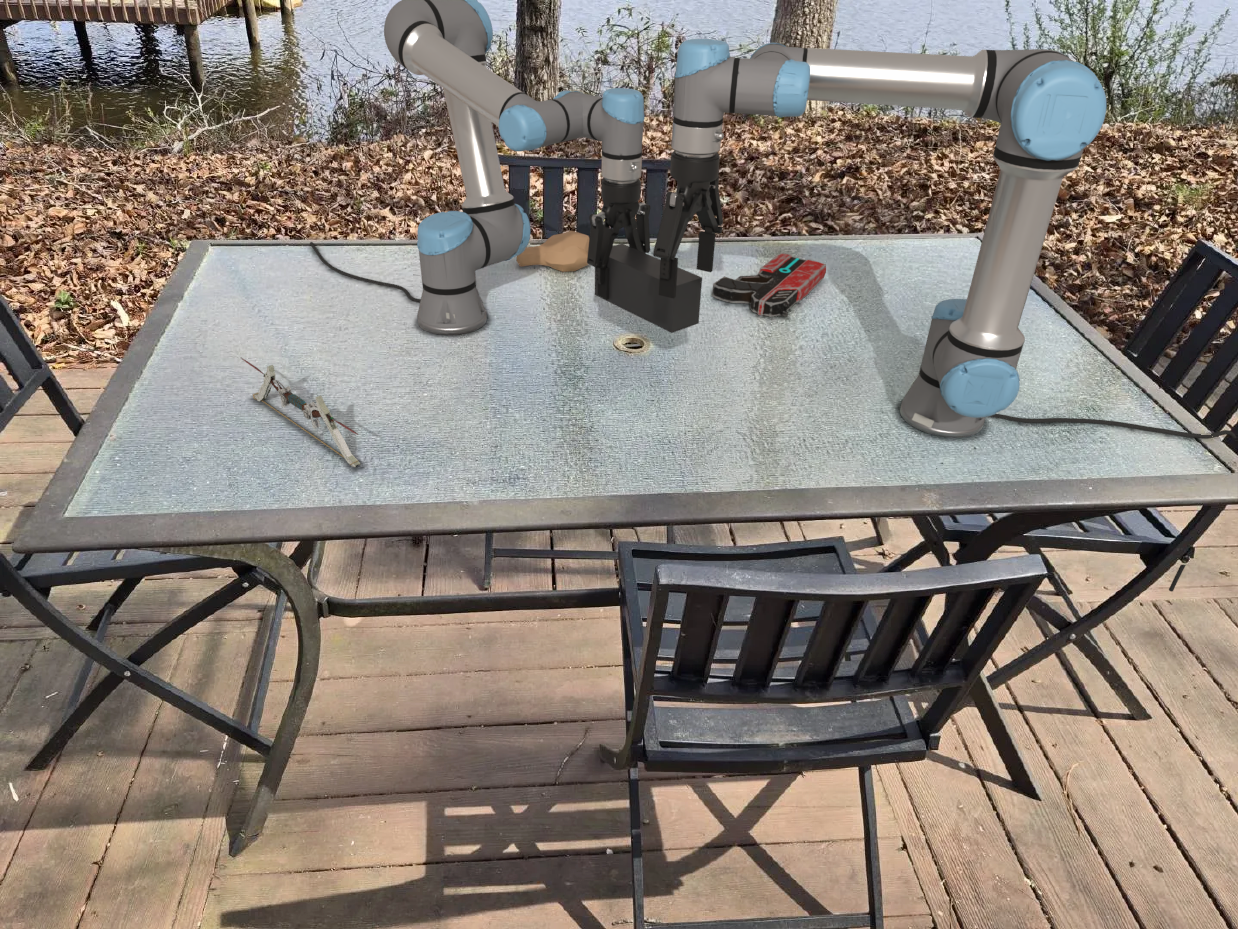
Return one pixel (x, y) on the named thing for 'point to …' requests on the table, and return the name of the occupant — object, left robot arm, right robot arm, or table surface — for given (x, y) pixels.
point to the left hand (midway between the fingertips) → (618, 292)
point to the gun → (772, 285)
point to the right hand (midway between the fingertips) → (686, 282)
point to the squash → (558, 252)
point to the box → (651, 290)
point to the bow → (305, 411)
